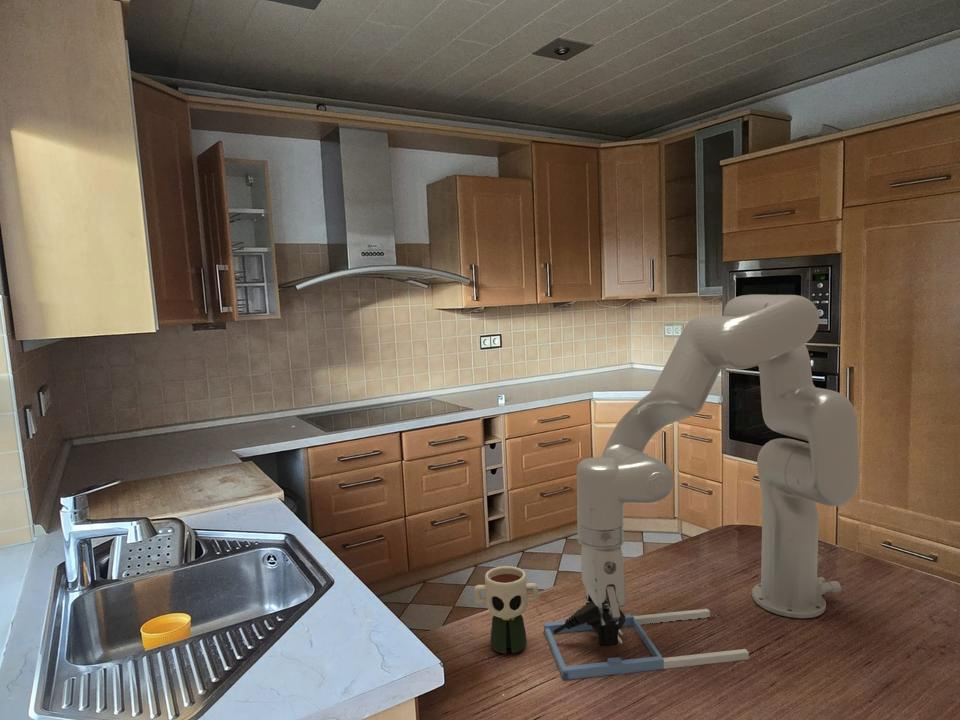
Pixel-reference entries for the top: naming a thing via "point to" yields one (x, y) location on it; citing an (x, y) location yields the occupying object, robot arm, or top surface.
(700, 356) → the robot arm
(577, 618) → the power plug
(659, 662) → the blue cream pronged frame
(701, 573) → the top surface
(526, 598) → the character mug
